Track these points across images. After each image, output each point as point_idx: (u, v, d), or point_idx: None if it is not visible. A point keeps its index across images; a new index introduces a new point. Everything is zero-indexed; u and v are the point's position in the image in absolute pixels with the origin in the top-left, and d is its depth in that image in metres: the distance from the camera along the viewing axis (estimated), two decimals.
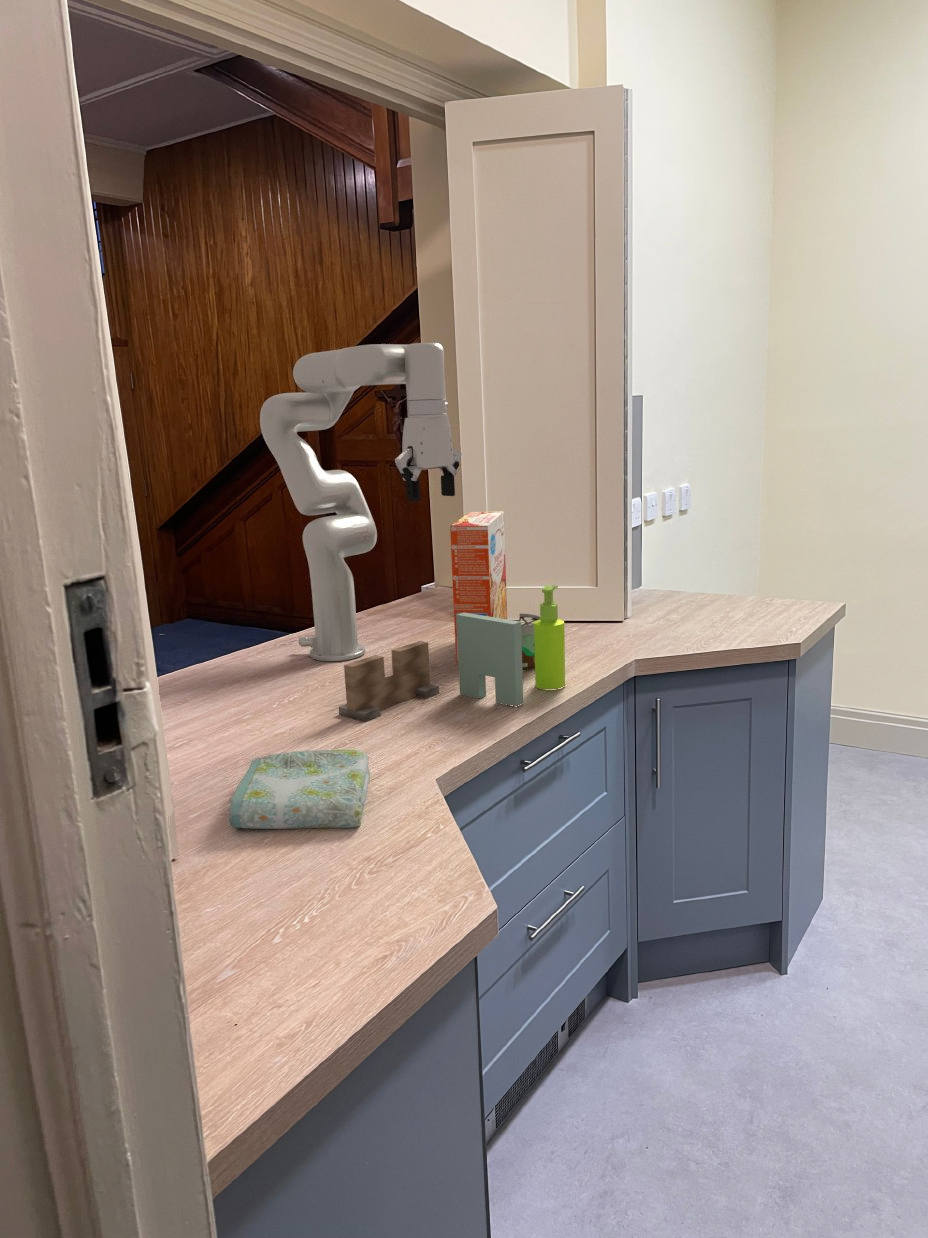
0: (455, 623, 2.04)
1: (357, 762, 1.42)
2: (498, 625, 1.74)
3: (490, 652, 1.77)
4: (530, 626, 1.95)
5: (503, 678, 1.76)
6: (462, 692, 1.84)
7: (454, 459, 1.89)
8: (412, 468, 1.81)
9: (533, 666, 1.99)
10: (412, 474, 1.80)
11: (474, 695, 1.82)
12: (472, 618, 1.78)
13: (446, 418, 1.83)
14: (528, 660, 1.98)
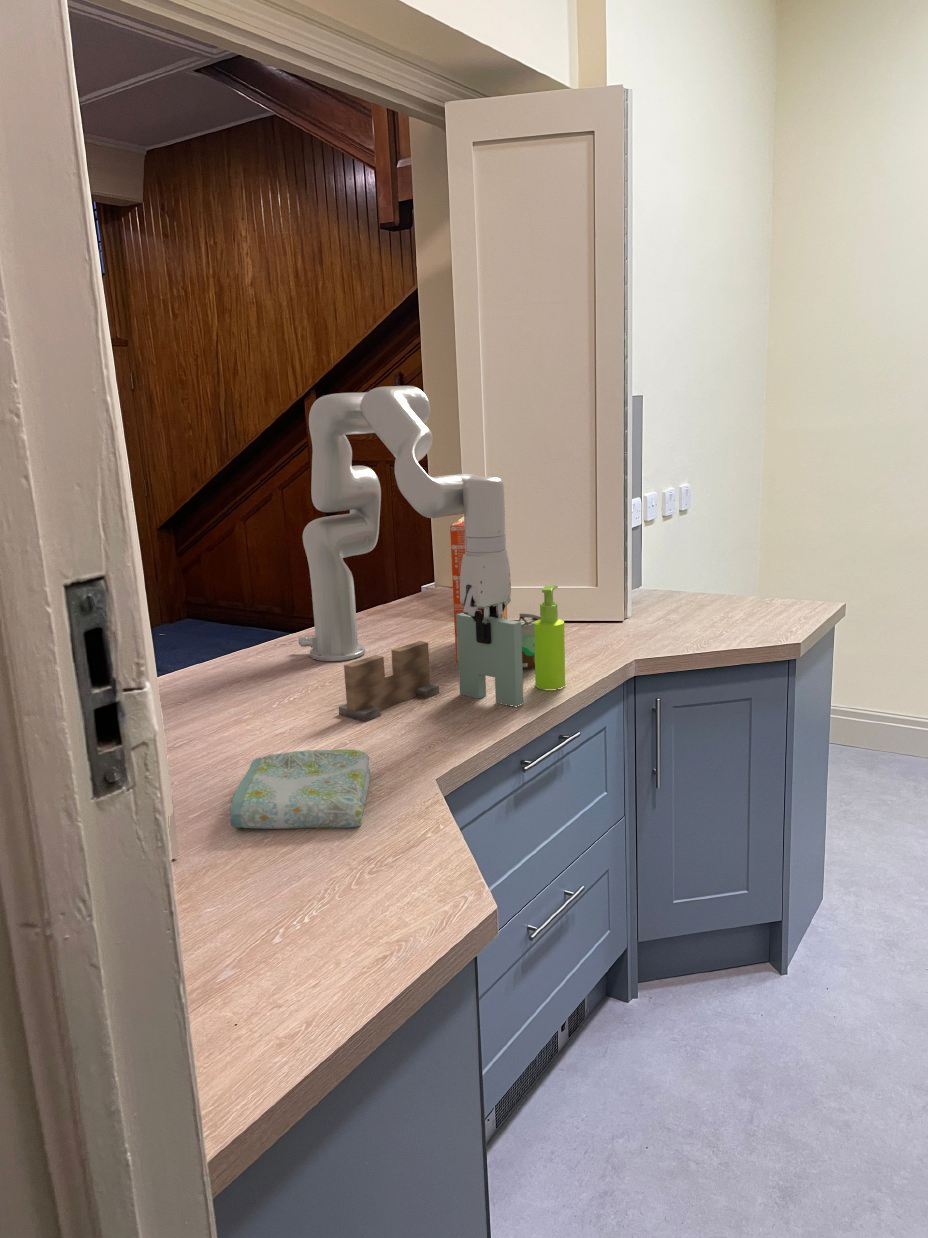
0: (455, 623, 2.04)
1: (358, 762, 1.42)
2: (498, 625, 1.74)
3: (491, 652, 1.77)
4: (530, 626, 1.95)
5: (503, 678, 1.76)
6: (462, 692, 1.84)
7: None
8: None
9: (533, 666, 1.99)
10: (482, 619, 1.74)
11: (474, 695, 1.82)
12: (472, 618, 1.78)
13: (505, 553, 1.75)
14: (528, 660, 1.98)
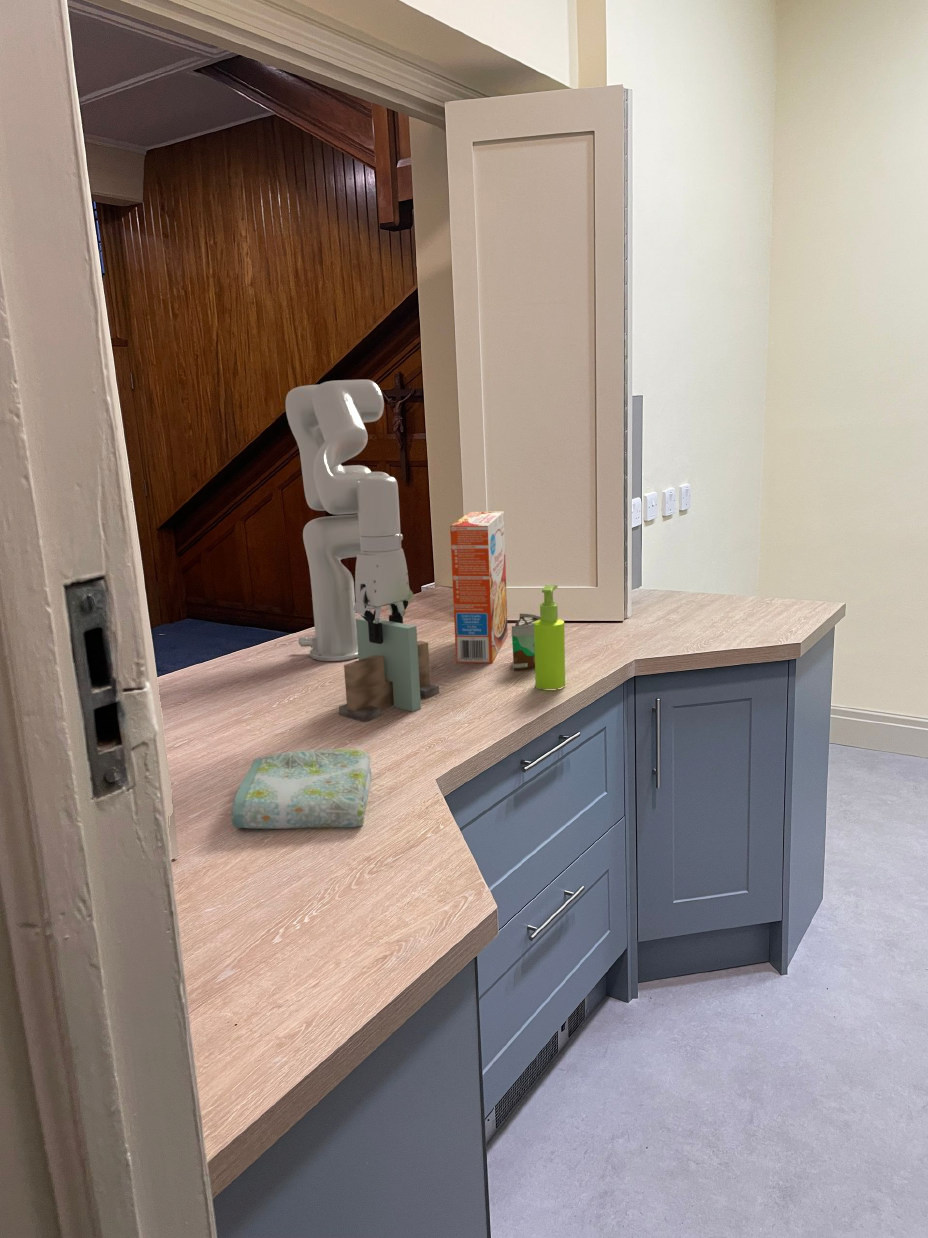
0: (455, 623, 2.04)
1: (359, 762, 1.42)
2: (394, 629, 1.74)
3: (388, 656, 1.77)
4: (530, 626, 1.95)
5: (400, 682, 1.76)
6: None
7: None
8: (371, 608, 1.74)
9: (533, 666, 1.99)
10: (373, 618, 1.73)
11: None
12: None
13: (401, 552, 1.74)
14: (528, 660, 1.98)
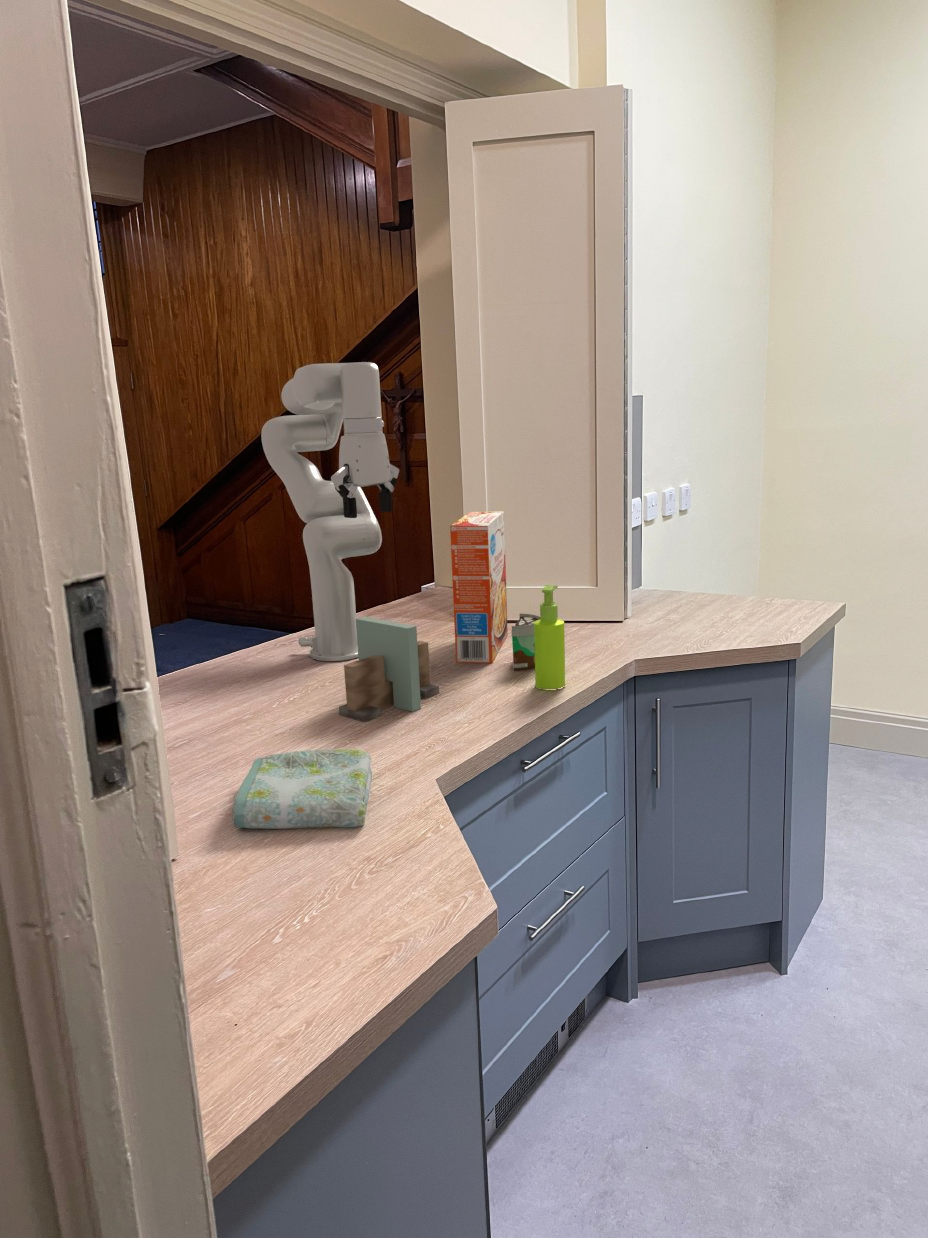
0: (455, 623, 2.04)
1: (360, 762, 1.42)
2: (394, 629, 1.74)
3: (388, 656, 1.77)
4: (530, 626, 1.95)
5: (400, 682, 1.76)
6: None
7: (392, 475, 1.92)
8: (349, 485, 1.84)
9: (533, 666, 1.99)
10: (348, 491, 1.83)
11: None
12: (370, 622, 1.78)
13: (382, 436, 1.86)
14: (528, 660, 1.98)
